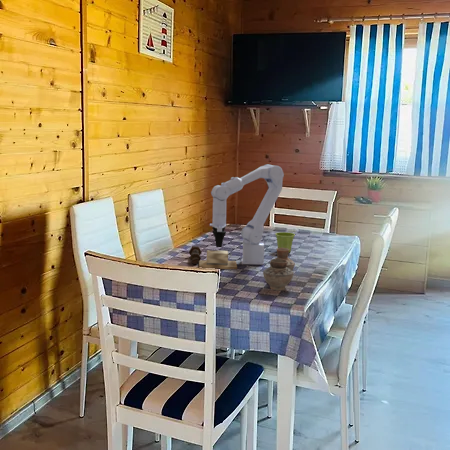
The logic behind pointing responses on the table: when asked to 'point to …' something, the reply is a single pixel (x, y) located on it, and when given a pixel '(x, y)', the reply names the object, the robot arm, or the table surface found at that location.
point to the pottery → (279, 270)
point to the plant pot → (285, 240)
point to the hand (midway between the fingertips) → (218, 245)
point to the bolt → (195, 254)
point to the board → (230, 265)
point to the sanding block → (217, 257)
